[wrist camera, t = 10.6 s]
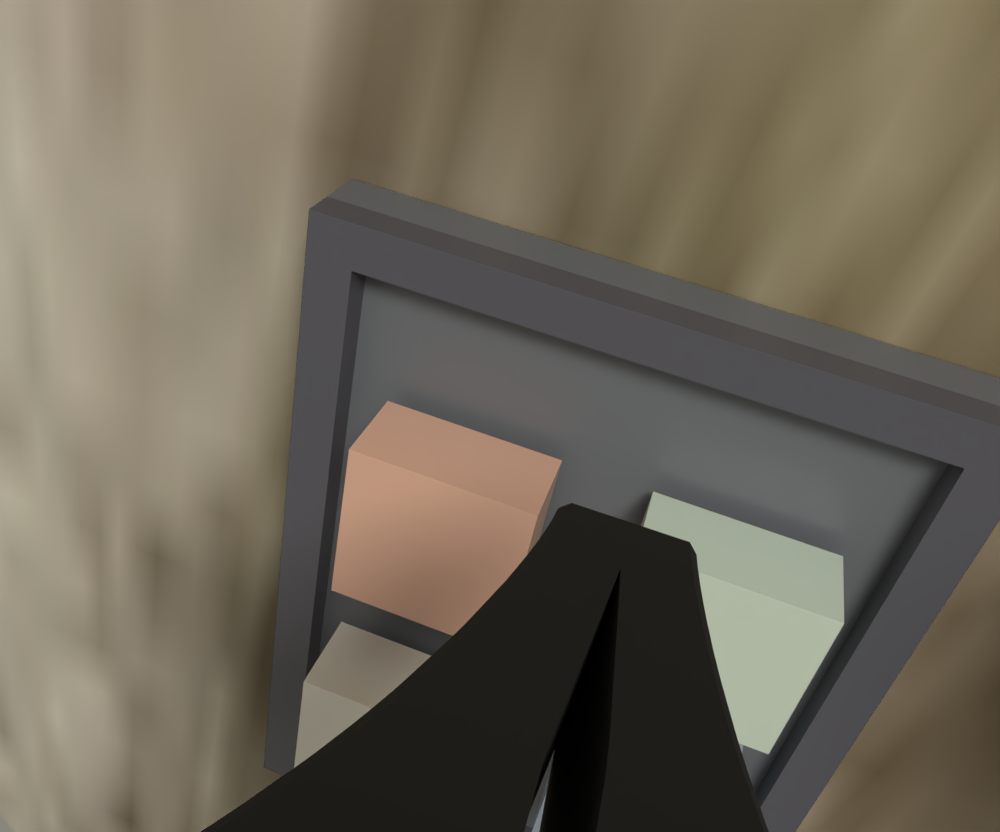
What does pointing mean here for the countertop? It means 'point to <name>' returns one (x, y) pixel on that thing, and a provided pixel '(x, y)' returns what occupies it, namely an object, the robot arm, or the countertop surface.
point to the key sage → (759, 611)
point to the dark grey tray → (634, 438)
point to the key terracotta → (436, 516)
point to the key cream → (349, 684)
